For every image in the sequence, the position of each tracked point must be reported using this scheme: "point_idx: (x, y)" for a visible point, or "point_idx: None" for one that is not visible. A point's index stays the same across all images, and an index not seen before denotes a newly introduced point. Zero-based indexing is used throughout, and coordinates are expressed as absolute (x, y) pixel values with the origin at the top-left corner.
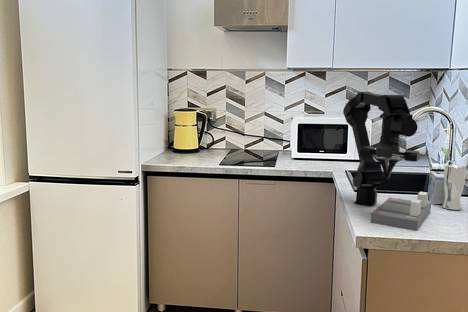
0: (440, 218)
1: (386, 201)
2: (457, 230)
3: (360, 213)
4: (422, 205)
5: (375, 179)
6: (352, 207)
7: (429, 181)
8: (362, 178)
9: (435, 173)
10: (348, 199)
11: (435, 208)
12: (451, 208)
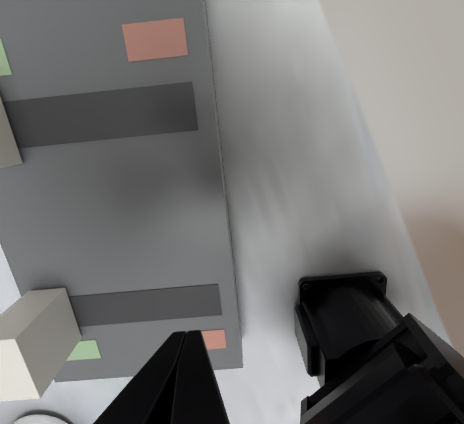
0: (4, 292)
1: (227, 292)
2: None
3: (307, 129)
4: (32, 297)
5: (337, 408)
6: (373, 206)
7: None
8: (443, 361)
9: None
10: (423, 317)
11: (86, 402)
12: (27, 418)
